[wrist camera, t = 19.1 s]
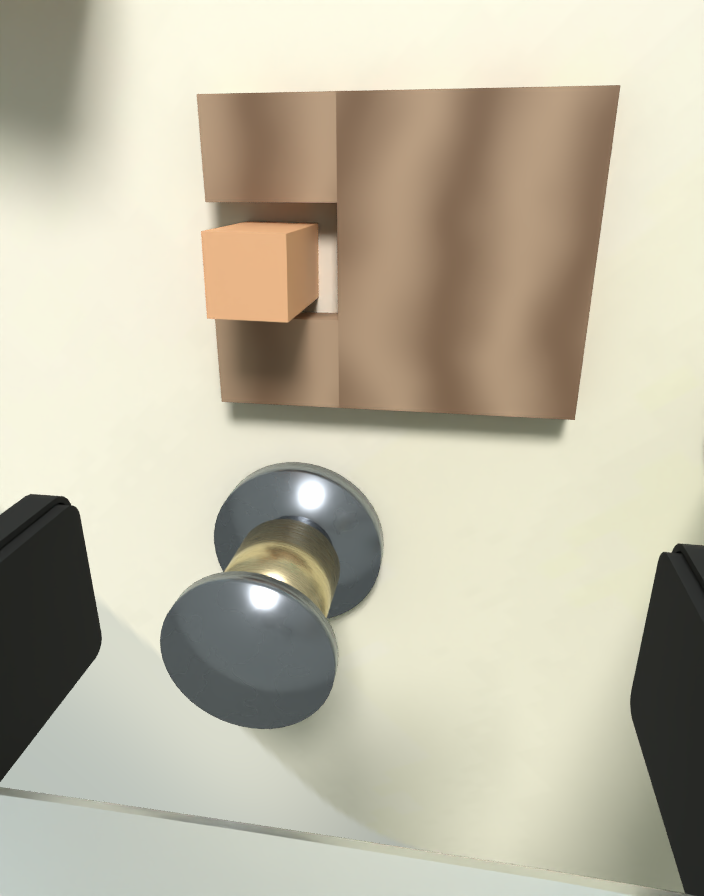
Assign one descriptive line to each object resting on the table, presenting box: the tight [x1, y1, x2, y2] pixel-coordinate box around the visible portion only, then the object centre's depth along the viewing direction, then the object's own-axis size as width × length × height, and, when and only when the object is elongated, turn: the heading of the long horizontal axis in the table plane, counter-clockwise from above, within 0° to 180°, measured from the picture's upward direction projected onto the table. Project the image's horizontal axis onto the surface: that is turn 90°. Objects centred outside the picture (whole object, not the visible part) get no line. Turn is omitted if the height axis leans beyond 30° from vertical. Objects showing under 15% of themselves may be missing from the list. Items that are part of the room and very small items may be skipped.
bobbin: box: [160, 462, 384, 729], centre depth 38 cm, size 11×11×12 cm
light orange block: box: [201, 221, 318, 323], centre depth 34 cm, size 4×4×7 cm
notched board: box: [197, 85, 620, 420], centre depth 35 cm, size 20×16×2 cm
